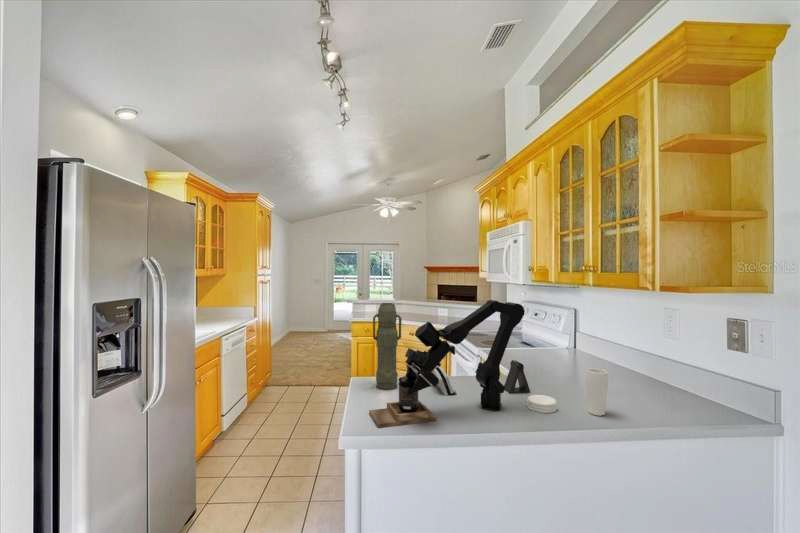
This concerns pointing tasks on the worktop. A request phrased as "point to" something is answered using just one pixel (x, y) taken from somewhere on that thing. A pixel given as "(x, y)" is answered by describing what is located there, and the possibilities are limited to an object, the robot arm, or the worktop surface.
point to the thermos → (386, 346)
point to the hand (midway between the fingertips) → (404, 390)
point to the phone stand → (513, 375)
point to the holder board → (400, 415)
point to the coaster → (542, 403)
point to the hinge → (443, 381)
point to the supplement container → (407, 395)
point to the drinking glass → (597, 390)
